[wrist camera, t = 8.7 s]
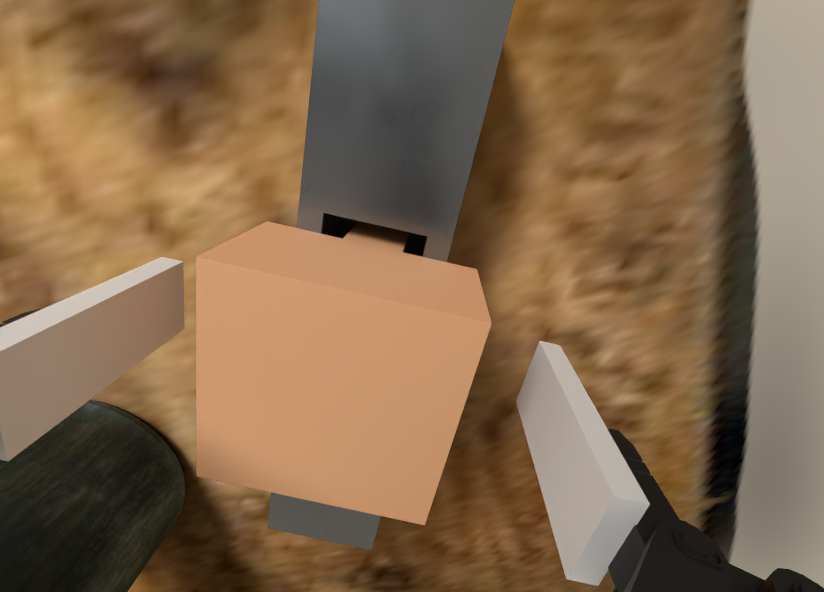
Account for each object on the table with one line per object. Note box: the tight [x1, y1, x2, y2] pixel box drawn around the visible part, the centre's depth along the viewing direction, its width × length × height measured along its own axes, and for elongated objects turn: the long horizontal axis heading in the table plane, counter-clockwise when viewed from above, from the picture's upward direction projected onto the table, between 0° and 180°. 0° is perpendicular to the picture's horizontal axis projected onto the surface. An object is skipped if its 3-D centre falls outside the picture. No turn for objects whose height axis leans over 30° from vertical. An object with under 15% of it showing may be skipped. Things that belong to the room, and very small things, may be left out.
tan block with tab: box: [196, 221, 492, 525], centre depth 14 cm, size 7×7×7 cm
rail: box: [267, 0, 515, 550], centre depth 16 cm, size 22×5×4 cm, turn 168°
